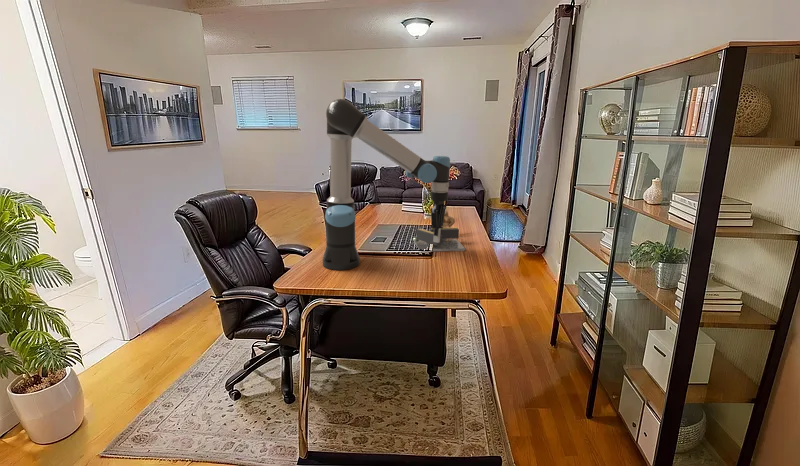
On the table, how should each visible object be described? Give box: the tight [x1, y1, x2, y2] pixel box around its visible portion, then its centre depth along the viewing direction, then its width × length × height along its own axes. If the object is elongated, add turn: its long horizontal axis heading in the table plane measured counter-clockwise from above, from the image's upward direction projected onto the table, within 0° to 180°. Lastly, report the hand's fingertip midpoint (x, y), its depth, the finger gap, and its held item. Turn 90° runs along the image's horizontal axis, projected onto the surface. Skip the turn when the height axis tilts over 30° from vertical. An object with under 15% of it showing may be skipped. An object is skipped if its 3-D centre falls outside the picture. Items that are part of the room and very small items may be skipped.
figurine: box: [441, 210, 456, 228], centre depth 199 cm, size 11×9×15 cm
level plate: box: [412, 236, 466, 252], centre depth 181 cm, size 22×16×2 cm
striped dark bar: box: [415, 228, 443, 246], centre depth 179 cm, size 3×14×6 cm, turn 42°
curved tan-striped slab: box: [429, 227, 460, 240], centre depth 186 cm, size 3×14×6 cm, turn 97°
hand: (436, 241), depth 173 cm, fingers closed
